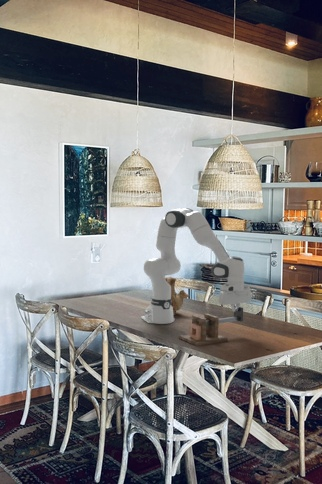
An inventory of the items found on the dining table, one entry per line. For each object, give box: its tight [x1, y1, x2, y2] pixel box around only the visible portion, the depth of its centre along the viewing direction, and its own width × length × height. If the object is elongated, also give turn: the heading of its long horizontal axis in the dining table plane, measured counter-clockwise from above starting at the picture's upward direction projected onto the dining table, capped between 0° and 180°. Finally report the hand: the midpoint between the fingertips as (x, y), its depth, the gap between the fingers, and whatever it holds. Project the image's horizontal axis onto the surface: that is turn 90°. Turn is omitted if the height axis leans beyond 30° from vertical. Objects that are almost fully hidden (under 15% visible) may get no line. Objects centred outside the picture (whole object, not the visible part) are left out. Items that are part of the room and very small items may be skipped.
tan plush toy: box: [165, 276, 191, 316], centre depth 337 cm, size 18×19×25 cm
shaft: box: [206, 305, 244, 325], centre depth 282 cm, size 6×25×8 cm, turn 121°
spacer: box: [189, 323, 201, 340], centre depth 273 cm, size 7×2×7 cm, turn 31°
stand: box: [178, 313, 229, 346], centre depth 276 cm, size 16×20×12 cm
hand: (235, 311), depth 286 cm, fingers closed
